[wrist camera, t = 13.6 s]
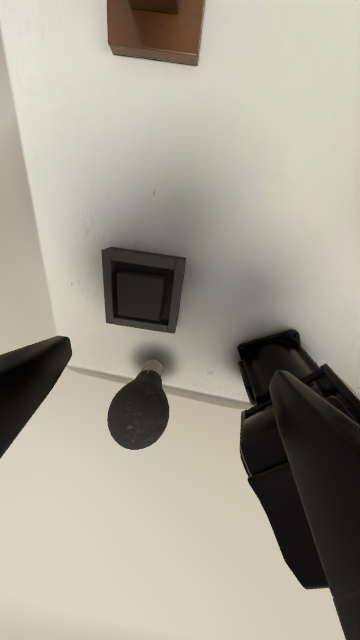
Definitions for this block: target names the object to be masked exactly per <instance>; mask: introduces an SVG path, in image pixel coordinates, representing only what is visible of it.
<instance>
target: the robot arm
mask: <svg viewBox="0 0 360 640" xmlns="http://www.w3.org/2000/svg"><path fill="white" fill-rule="evenodd" d="M292 334H294V335H293V336H292ZM241 348H243V349H241ZM237 349H238V352H239V355H240V358H241V361H239V362H238V365H239V369H240V372H241V375H242V379H243V382H244V385H245V389H246V392H247V394H248V397H249V400H250V403H251V404H252V405H255V406H254V407H252V408H250V409H248V410H244V411H243V412H241V433H240V454H241V460H242V462H243V466H244V468H245V470H246V473H247V474H248V482H249V484H250V486H251V487H252V489H253V491H254V492H255V494H256V495H257V497H258V498H259V500H260V502H261V504H262V506H263V508H264V510H265V512H266V514H267V516H268V519H269V521H270V524H271V526H272V529H273V531H274V534H275V537H276V539H277V542H278V545H279V547H280V550H281V552H282V555H283V558H284V559H285V562H286V563H287V565H288V566H289V568H290V569H291V571H292V572H293V573H294V575H295V576H296V578H297V579H298V581H299V582H300V583H301V585H302V586H303V587H304V588H305V589H318V588H319V589H320V588H329V589H330V591H331V594H332V596H333V601H334V604H335V607H336V610H337V614H338V616H339V620H340V623H341V626H342V629H343V632H344V635H345V638H346V640H360V397H359V396H358V395H357V394H356V393H355V392H354V391H353V390H352V389H351V388H350V387H349V386H348V385H347V384H346V383H345V382H344V381H343V380H342V379H341V378H340V377H339V376H338V375H337V374H336V373H335V372H334V371H333V370H332V369H331V368H330V367H329V366H328V365H327V364H324V365H322V366H321V367H319V366H318V365H317V364H316V363H315V362H314V360H313V359H312V358H311V357H310V356H309V355H308V354H307V352H306V351H305V350H304V349H303V348H302V347H301V343H300V336H299V333H298V332H297V331H296V330H289V331H286V332H282V333H279V334H275V335H271V336H268V337H264V338H260V339H257V340H253V341H249V342H246V343H242V344H239V345H238V347H237ZM71 356H72V349H71V343H70V339H69V338H68V337H64V336H56V337H53V338H50V339H47V340H44V341H41V342H38V343H35V344H32V345H29V346H26V347H23V348H20V349H17V350H14V351H11V352H8V353H5V354H2V355H0V458H1V457H2V456H3V454H4V453H5V452H6V450H7V449H8V448H9V446H10V445H11V444H12V442H13V441H14V439H15V438H16V437H17V435H18V434H19V433H20V431H21V430H22V429H23V427H24V426H25V425H26V423H27V422H28V421H29V419H30V418H31V417H32V415H33V414H34V413H35V411H36V410H37V409H38V407H39V406H40V404H41V403H42V402H43V401H44V399H45V398H46V397H47V395H48V394H49V392H50V391H51V390H52V388H53V387H54V385H55V383H56V382H57V380H58V378H59V377H60V375H61V373H62V372H63V370H64V368H65V367H66V365H67V363H68V362H69V360H70V358H71Z"/></svg>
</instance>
